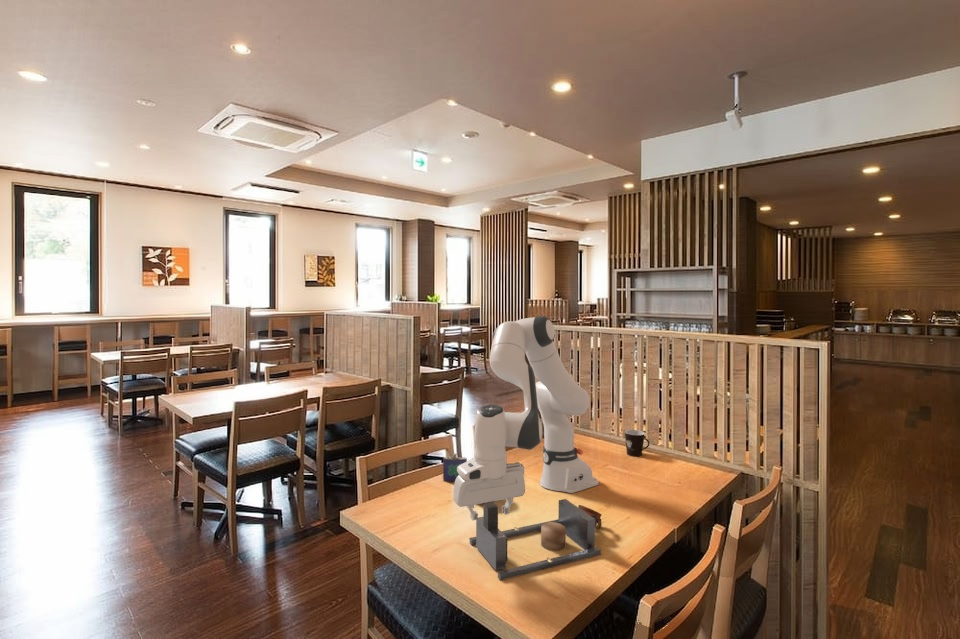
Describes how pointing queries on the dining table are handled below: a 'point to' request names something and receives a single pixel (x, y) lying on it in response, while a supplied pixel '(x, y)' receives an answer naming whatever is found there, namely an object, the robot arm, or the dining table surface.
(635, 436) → the coffee mug
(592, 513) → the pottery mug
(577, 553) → the press frame
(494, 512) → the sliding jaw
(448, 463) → the flask
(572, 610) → the dining table surface
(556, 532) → the brown short cylinder
